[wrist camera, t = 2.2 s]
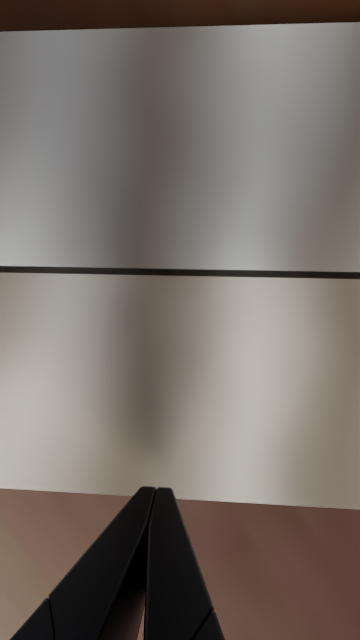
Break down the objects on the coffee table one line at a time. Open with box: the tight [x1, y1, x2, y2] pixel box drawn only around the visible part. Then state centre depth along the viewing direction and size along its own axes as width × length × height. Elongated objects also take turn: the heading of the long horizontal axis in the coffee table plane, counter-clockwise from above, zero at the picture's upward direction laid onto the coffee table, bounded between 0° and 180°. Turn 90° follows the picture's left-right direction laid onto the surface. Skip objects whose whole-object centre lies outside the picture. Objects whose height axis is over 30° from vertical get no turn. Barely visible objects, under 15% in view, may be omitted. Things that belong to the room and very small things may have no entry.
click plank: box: [0, 273, 360, 510], centre depth 11 cm, size 18×7×2 cm, turn 89°
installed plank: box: [0, 22, 360, 279], centre depth 11 cm, size 18×8×2 cm, turn 89°
